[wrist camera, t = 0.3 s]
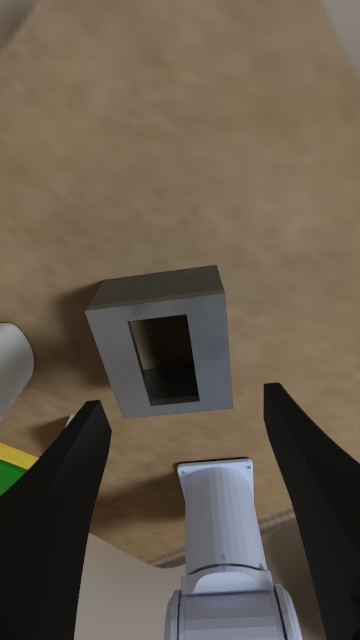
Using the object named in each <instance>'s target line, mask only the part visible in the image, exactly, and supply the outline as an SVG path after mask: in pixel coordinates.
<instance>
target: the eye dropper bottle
mask: <svg viewBox="0 0 360 640" xmlns="http://www.w3.org/2000/svg"><path fill="white" fill-rule="evenodd" d="M33 370H34V356H33V352H32V349H31V346H30V344H29V342H28V340H27V339H26V337H25V336H24V334H23V333H22V332H21V330H20V329H19V328H18V327H17V326H15V325H14V324H11V323H0V422H1V421H2V419H3V418H4V416H5V415H6V413H7V412H8V411H9V409H10V408H11V406H12V405H13V403H14V402H15V400H16V399H17V397H18V396H19V394H20V393H21V391H22V390H23V388H24V387H25V385H26V384H27V383H28V381H29V380H30V378H31V376H32V374H33Z"/></svg>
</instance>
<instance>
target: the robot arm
mask: <svg viewBox="0 0 360 640" xmlns="http://www.w3.org/2000/svg"><path fill="white" fill-rule="evenodd" d="M264 421H265V425H266V429H267V433H268V437H269V441H270V444H271V447H272V449H273V452H274V455H275V458H276V460H277V463H278V466H279V468H280V471H281V474H282V477H283V479H284V482H285V485H286V487H287V490H288V493H289V496H290V499H291V502H292V505H293V508H294V512H295V516H296V519H297V523H298V526H299V530H300V534H301V537H302V542H303V545H304V549H305V553H306V557H307V561H308V564H309V568H310V572H311V576H312V580H313V584H314V588H315V592H316V596H317V601H318V604H319V609H320V613H321V617H322V622H323V625H324V630H325V634H326V639H327V640H360V463H358V462H357V461H356V460H355V459H353V458H352V457H351V456H350V455H349V454H347V453H346V452H345V451H344V450H343V449H342V448H340V447H339V446H338V445H337V444H336V443H335V442H334V441H333V440H332V439H331V438H330V437H328V436H327V435H326V434H325V433H324V432H323V431H322V430H321V429H320V428H319V427H318V426H317V425H316V424H315V423H314V422H313V421H312V420H311V419H310V418H309V416H308V415H307V414H306V413H305V412H304V411H303V410H302V409H301V408H300V407H299V406H298V404H297V403H296V402H295V401H294V400H293V399H292V397H291V396H290V395H289V394H288V393H287V391H286V390H285V389H284V388H283V386H282V385H281V384H280V383H268V384H264ZM111 433H112V430H111V428H110V425H109V423H108V420H107V417H106V415H105V412H104V409H103V407H102V404H101V402H100V400H94V401H87V402H86V403H85V404H84V405H83V406H82V408H81V409H80V410H79V411H78V412H77V414H76V415H75V416H74V417H73V419H72V420H71V421H70V422H69V424H68V425H67V426H66V427H65V429H64V430H63V431H62V432H61V433H60V435H59V436H58V437H57V438H56V439H55V441H54V442H53V443H52V444H51V445H50V446H49V448H48V449H47V450H46V451H45V452H44V453H43V454H42V455H41V457H40V458H39V459H38V460H37V461H36V462H35V463H34V464H33V465H32V466H31V467H30V468H29V469H28V470H27V471H26V472H25V473H24V474H23V475H22V476H21V477H20V478H19V479H18V480H17V481H16V482H15V483H14V484H13V485H12V486H11V487H10V488H9V489H8V490H6V491H5V492H4V493H3V494H2V495H1V496H0V640H74V631H75V622H76V614H77V606H78V598H79V590H80V583H81V576H82V570H83V563H84V557H85V551H86V545H87V539H88V534H89V528H90V523H91V518H92V513H93V509H94V505H95V501H96V498H97V494H98V491H99V487H100V483H101V480H102V476H103V472H104V469H105V465H106V461H107V457H108V453H109V447H110V440H111ZM177 471H178V475H179V479H180V483H181V487H182V491H183V495H184V499H185V536H186V576H182V577H181V590H175V591H174V593H173V596H172V597H171V599H170V600H169V602H168V606H167V611H166V618H165V631H164V640H302V636H301V632H300V628H299V624H298V621H297V617H296V613H295V609H294V606H293V603H292V600H291V597H290V595H289V593H287V591H285V589H283V587H282V585H281V584H274V588H273V583H272V578H271V574H270V571H267V566H266V562H265V557H264V552H263V547H262V542H261V537H260V532H259V527H258V522H257V517H256V512H255V507H254V494H253V463H252V460H251V459H235V460H222V461H210V462H197V463H185V464H179V465H178V466H177Z"/></svg>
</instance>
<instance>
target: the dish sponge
mask: <svg viewBox="0 0 360 640" xmlns="http://www.w3.org/2000/svg"><path fill="white" fill-rule="evenodd" d="M38 459H39V458H38V457H35V456H33V455H30V454H27V453H25V452H22V451H20V450H17V449H15V448H12V447H9V446H7V445H4V444H2V443H0V496H1V495H2V494H3V493H4V492H5V491H6V490H8V489H9V488H10V487H11V486H12V485H13V484H14V483H15V482H16V481H17V480H18V479H19V478H20V477H21V476H22V475H23V474H24V473H25V472H26V471H27V470H28V469H29V468H30V467H31V466H32V465H33V464H34V463H35V462H36V461H37V460H38Z"/></svg>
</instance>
